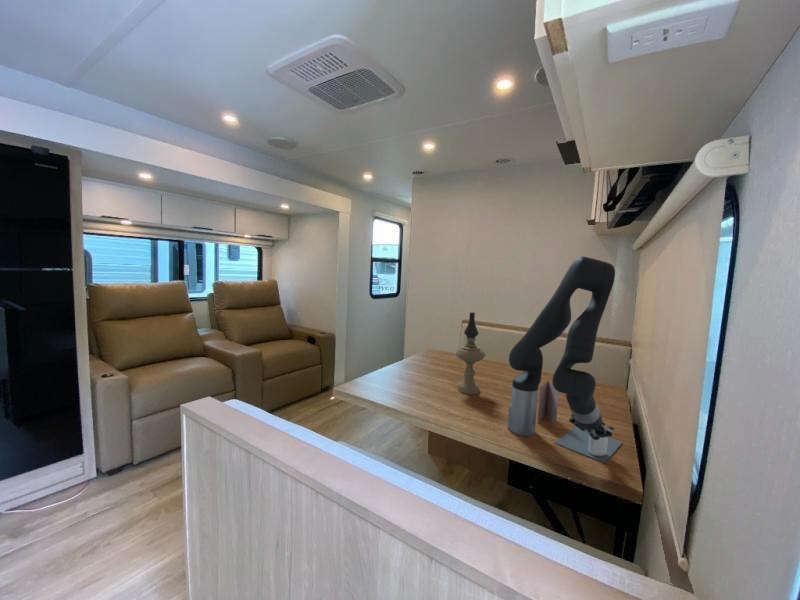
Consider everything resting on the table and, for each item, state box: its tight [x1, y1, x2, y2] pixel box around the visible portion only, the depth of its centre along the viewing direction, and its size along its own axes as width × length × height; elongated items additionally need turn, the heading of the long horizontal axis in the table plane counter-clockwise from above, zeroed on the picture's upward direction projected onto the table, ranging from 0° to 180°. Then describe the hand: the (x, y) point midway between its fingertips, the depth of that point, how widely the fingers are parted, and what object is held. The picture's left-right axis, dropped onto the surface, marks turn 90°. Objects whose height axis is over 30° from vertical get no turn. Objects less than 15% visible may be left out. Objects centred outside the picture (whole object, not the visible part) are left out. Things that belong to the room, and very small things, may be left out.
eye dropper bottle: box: [588, 435, 608, 456], centre depth 112 cm, size 4×6×12 cm
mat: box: [554, 425, 623, 464], centre depth 120 cm, size 16×20×1 cm
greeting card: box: [537, 380, 560, 427], centre depth 137 cm, size 11×7×15 cm, turn 141°
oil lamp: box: [454, 311, 486, 395], centre depth 168 cm, size 15×15×40 cm
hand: (595, 436), depth 110 cm, fingers closed
